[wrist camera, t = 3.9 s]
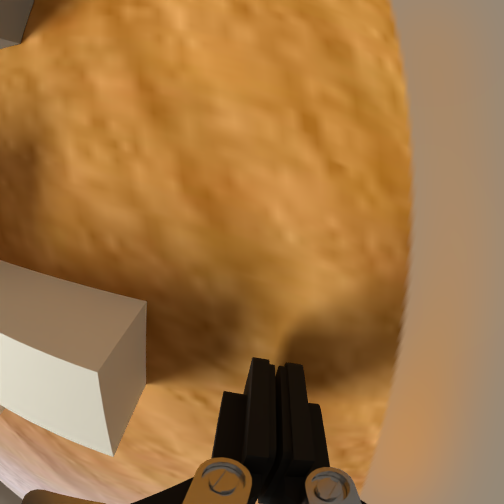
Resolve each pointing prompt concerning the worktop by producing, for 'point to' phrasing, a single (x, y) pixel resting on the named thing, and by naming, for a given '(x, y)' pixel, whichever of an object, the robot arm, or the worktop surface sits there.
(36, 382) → the t block
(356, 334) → the worktop surface
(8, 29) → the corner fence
